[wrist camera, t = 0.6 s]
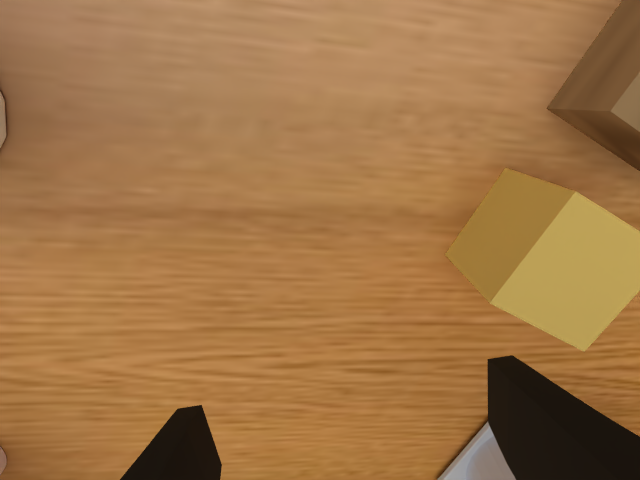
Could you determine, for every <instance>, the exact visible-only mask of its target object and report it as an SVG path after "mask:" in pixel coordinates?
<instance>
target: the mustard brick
mask: <svg viewBox="0 0 640 480" xmlns="http://www.w3.org/2000/svg"><path fill="white" fill-rule="evenodd" d="M445 256H446V257H447V258H448V259H449V260H450V261H451V262H452V263H453V264H454V265H455V266H456V267H457V269H458V270H459V271H460V272H461V273H462V274H463V275H464V276H465V277H466V278H467V279H468V280H469V282H470V283H471V284H472V285H473V286H474V287H475V288H476V289H477V290H478V291H479V292H480V293H481V294H482V296H483V297H484V298H485V299H486V300H487V301H488V302H489V303H490V304H492V305H494V306H496V307H498V308H500V309H502V310H504V311H506V312H508V313H510V314H512V315H514V316H515V317H517V318H519V319H521V320H523V321H525V322H527V323H529V324H531V325H533V326H535V327H537V328H539V329H541V330H543V331H545V332H547V333H549V334H551V335H552V336H554V337H556V338H558V339H560V340H562V341H564V342H566V343H568V344H570V345H572V346H574V347H576V348H578V349H580V350H582V351H584V352H585V351H586V350H587V348H588V347H589V346H590V345H591V344H592V343H593V342H594V341H595V340H596V338H597V337H598V336H599V335H600V334H601V333H602V332H603V331H604V330H605V328H606V327H607V326H608V325H609V324H610V323H611V322H612V321H613V320H614V318H615V317H616V316H617V315H618V314H619V313H620V312H621V311H622V310H623V308H624V307H625V306H626V305H627V304H628V303H629V302H630V301H631V300H632V298H633V297H634V296H635V295H636V294H637V293H638V292H639V291H640V231H638V230H637V229H635V228H634V227H632V226H631V225H629V224H627V223H626V222H624V221H623V220H621V219H619V218H618V217H616V216H615V215H613V214H611V213H610V212H608V211H607V210H605V209H603V208H602V207H600V206H599V205H597V204H595V203H594V202H592V201H591V200H589V199H587V198H586V197H584V196H583V195H581V194H580V193H578V192H576V191H574V190H571V189H568V188H565V187H562V186H559V185H556V184H553V183H550V182H547V181H544V180H541V179H538V178H535V177H532V176H529V175H526V174H523V173H520V172H517V171H514V170H511V169H508V168H505V169H504V170H503V172H502V173H501V175H500V176H499V178H498V179H497V181H496V182H495V183H494V185H493V186H492V188H491V189H490V191H489V192H488V193H487V195H486V196H485V198H484V199H483V201H482V202H481V203H480V205H479V206H478V208H477V209H476V211H475V212H474V213H473V215H472V216H471V218H470V219H469V221H468V222H467V223H466V225H465V226H464V228H463V229H462V231H461V232H460V233H459V235H458V236H457V238H456V239H455V241H454V242H453V243H452V245H451V246H450V248H449V249H448V251H447V252H446V253H445Z"/></svg>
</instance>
